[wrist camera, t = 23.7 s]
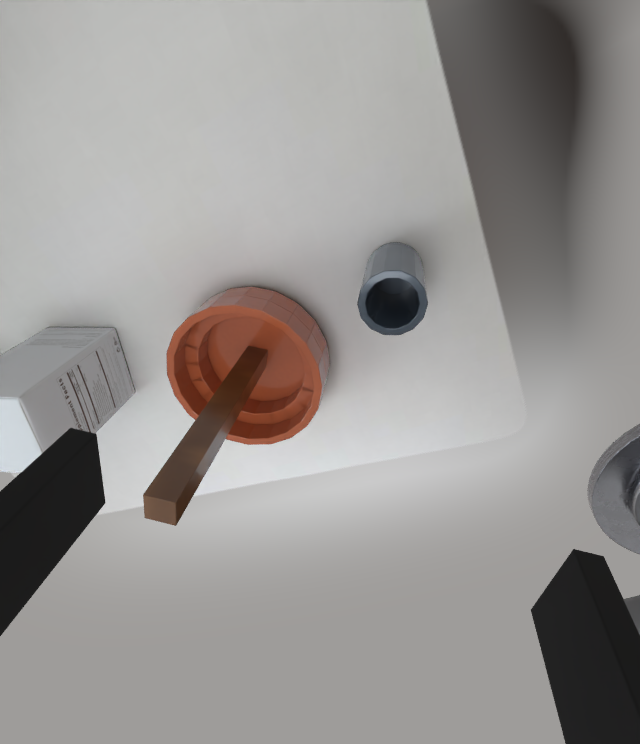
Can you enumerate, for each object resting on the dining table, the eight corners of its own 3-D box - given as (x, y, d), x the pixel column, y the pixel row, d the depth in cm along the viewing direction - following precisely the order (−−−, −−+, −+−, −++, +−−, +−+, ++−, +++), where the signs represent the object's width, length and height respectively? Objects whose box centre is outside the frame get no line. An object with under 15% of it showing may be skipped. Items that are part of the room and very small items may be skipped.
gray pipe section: (429, 247, 40) (436, 277, 32) (414, 302, 42) (416, 342, 35) (373, 236, 40) (366, 263, 32) (361, 291, 43) (352, 328, 35)
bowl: (342, 302, 44) (334, 326, 38) (318, 425, 52) (308, 459, 46) (192, 270, 45) (164, 289, 39) (191, 396, 53) (168, 425, 47)
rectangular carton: (72, 391, 55) (-29, 472, 42) (46, 325, 51) (-75, 393, 38) (137, 394, 54) (53, 479, 41) (117, 326, 49) (16, 398, 37)
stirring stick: (267, 349, 47) (175, 503, 28) (266, 367, 48) (176, 526, 29) (248, 345, 47) (142, 494, 28) (246, 362, 48) (144, 518, 29)
